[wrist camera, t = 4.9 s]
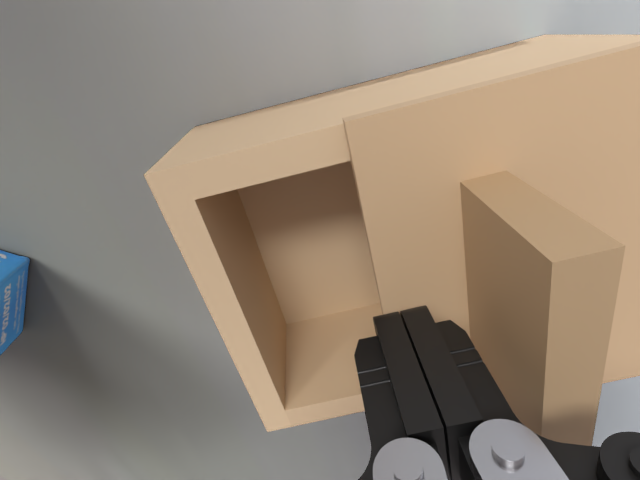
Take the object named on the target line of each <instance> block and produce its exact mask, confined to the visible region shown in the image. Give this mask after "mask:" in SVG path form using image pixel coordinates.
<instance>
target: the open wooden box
mask: <svg viewBox="0 0 640 480" xmlns="http://www.w3.org/2000/svg"><path fill="white" fill-rule="evenodd" d="M639 41H640V35H542V36H538V37H534V38H530V39H527V40H523V41H519V42H515V43H511V44H508V45H504V46H500V47H496V48H492V49H488V50H485V51H481V52H477V53H473V54H469V55H466V56H462V57H458V58H454V59H450V60H447V61H443V62H439V63H435V64H431V65H428V66H424V67H420V68H416V69H412V70H409V71H405V72H401V73H397V74H393V75H389V76H386V77H382V78H378V79H374V80H370V81H367V82H363V83H359V84H355V85H351V86H348V87H344V88H340V89H336V90H332V91H329V92H325V93H321V94H317V95H313V96H310V97H306V98H302V99H298V100H294V101H290V102H287V103H283V104H279V105H275V106H271V107H268V108H264V109H260V110H256V111H252V112H249V113H245V114H241V115H237V116H233V117H230V118H226V119H222V120H218V121H214V122H211V123H207V124H203V125H199V126H195V127H194V128H193V129H192V130H191V131H189V132H188V133H187V134H186V135H185V136H184V137H183V138H182V139H181V140H180V141H179V142H178V143H177V144H176V145H175V146H174V147H173V148H172V149H170V150H169V151H168V152H167V153H166V154H165V155H164V156H163V157H162V158H161V159H160V160H159V161H158V162H157V163H156V164H155V165H154V166H152V167H151V168H150V169H149V170H148V171H147V172H146V173H145V174H144V177H145V179H146V181H147V183H148V185H149V187H150V189H151V191H152V193H153V195H154V197H155V199H156V202H157V204H158V206H159V208H160V210H161V212H162V214H163V216H164V218H165V220H166V222H167V224H168V226H169V229H170V231H171V233H172V235H173V237H174V239H175V241H176V243H177V245H178V247H179V249H180V251H181V253H182V256H183V258H184V260H185V262H186V264H187V266H188V268H189V270H190V272H191V274H192V276H193V278H194V280H195V283H196V285H197V287H198V289H199V291H200V293H201V295H202V297H203V299H204V301H205V303H206V305H207V307H208V310H209V312H210V314H211V316H212V318H213V320H214V322H215V324H216V326H217V328H218V330H219V332H220V334H221V337H222V339H223V341H224V343H225V345H226V347H227V349H228V351H229V353H230V355H231V357H232V359H233V361H234V364H235V366H236V368H237V370H238V372H239V374H240V376H241V378H242V380H243V382H244V384H245V386H246V388H247V391H248V393H249V395H250V397H251V399H252V401H253V403H254V405H255V407H256V409H257V411H258V413H259V415H260V417H261V420H262V422H263V424H264V426H265V428H266V430H267V432H270V431H274V430H279V429H284V428H288V427H293V426H298V425H302V424H307V423H312V422H316V421H321V420H326V419H330V418H335V417H340V416H344V415H349V414H353V413H358V412H363V411H365V409H364V404H363V399H362V394H361V388H360V383H359V378H358V373H357V368H356V363H355V358H354V354H355V350H356V347H357V344H358V340H359V339H364V338H368V337H373V336H376V332H375V327H374V322H373V317H374V316H379V315H382V310H381V305H380V300H379V295H378V290H377V286H376V281H375V276H374V271H373V266H372V261H371V256H370V251H369V246H368V242H367V237H366V232H365V227H364V222H363V217H362V212H361V207H360V202H359V198H358V193H357V188H356V183H355V178H354V173H353V168H352V163H351V158H350V154H349V149H348V144H347V139H346V134H345V129H344V124H343V119H342V118H344V117H348V116H352V115H356V114H360V113H364V112H368V111H372V110H375V109H379V108H383V107H387V106H391V105H395V104H399V103H403V102H406V101H410V100H414V99H418V98H422V97H426V96H430V95H434V94H437V93H441V92H445V91H449V90H453V89H457V88H461V87H465V86H468V85H472V84H476V83H480V82H484V81H488V80H492V79H496V78H499V77H503V76H507V75H511V74H515V73H519V72H523V71H527V70H530V69H534V68H538V67H542V66H546V65H550V64H554V63H557V62H561V61H565V60H569V59H573V58H577V57H581V56H585V55H588V54H592V53H596V52H600V51H604V50H608V49H612V48H616V47H619V46H623V45H627V44H631V43H635V42H639Z"/></svg>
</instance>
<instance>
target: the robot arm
mask: <svg viewBox="0 0 640 480" xmlns="http://www.w3.org/2000/svg"><path fill="white" fill-rule="evenodd" d="M373 322H374V327H375V332H376V336H373V337H368V338H364V339H359V340H358V344H357V347H356V350H355V354H354V358H355V363H356V368H357V373H358V378H359V383H360V388H361V394H362V399H363V404H364V409H365V414H366V419H367V424H368V430H369V435H370V440H371V447H372V448H371V457H370V461H369V464H368V466H367V468H366V470H365V472H364V473H363V475H362V476H361V477H360V478H359V479H358V480H640V433H637V432H620V433H616V434H613V435H611V436H609V437H608V438H607V439H605V440H604V442H603V443H602V445H601V447H594V446H585V445H577V444H568V443H561V442H556V441H553V440H549V439H547V438H544V437H542V436H540V435H538V434H536V433H534V432H533V431H531V430H530V429H529V428H527V427H526V426H525V425H524V424H522V423H521V422H520V420H519V419H518V418H517V417H516V415H515V414H514V413H513V411H512V409H511V407H510V406H509V404H508V402H507V401H506V399H505V397H504V396H503V394H502V392H501V390H500V389H499V387H498V385H497V384H496V382H495V380H494V379H493V377H492V375H491V373H490V372H489V370H488V368H487V367H486V365H485V363H483V361H482V358H481V356H480V355H479V353H478V351H477V350H476V349H475V346H474V344H473V343H472V341H471V339H470V338H469V336H468V334H467V333H466V331H465V330H464V329H462V328H461V327H460V326H458V325H457V324H456V323H454V322H453V321H451V320H446V321H441V322H437V323H435V321H434V319H433V317H432V315H431V313H430V311H429V309H428V307H427V306H426V305H424V306H419V307H415V308H410V309H406V310H401V311H400V314H399V312H398V311H397V312H393V313H388V314H383V315H379V316H374V317H373Z"/></svg>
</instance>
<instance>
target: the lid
mask: <svg viewBox="0 0 640 480" xmlns="http://www.w3.org/2000/svg"><path fill="white" fill-rule="evenodd" d="M342 119H343V124H344V129H345V134H346V139H347V144H348V149H349V154H350V158H351V163H352V168H353V173H354V178H355V183H356V188H357V193H358V198H359V202H360V207H361V212H362V217H363V222H364V227H365V232H366V237H367V242H368V246H369V251H370V256H371V261H372V266H373V271H374V276H375V281H376V286H377V290H378V295H379V300H380V305H381V310H382V315H383V314H388V313H393V312H397V311H398V312H399V314H400V311H401V310H406V309H410V308H415V307H419V306H424V305H426V306H427V307H428V309H429V311H430V313H431V315H432V317H433V319H434V321H435V323H437V322H441V321H446V320H451V321H453V322H454V323H456V324H457V325H458V326H460V327H461V328H462V329H464V330H465V331H466V333H467V334H468V336H469V338H470V339H471V341H472V343H473V344H474V346H475V349H476V350H477V351H478V353H479V355H480V356H481V358H482V361H483V363H485V365H486V367H487V368H488V370H489V372H490V373H491V375H492V377H493V379H494V380H495V382H496V384H497V385H498V387H499V389H500V390H501V392H502V394H503V396H504V397H505V399H506V401H507V402H508V404H509V406H510V407H511V409H512V411H513V413H514V414H515V415H516V417H517V418H518V419H519V420H520V422H521V423H522V424H524V425H525V426H526V427H527V428H529V429H530V430H531V431H533V432H534V433H536V434H538V435H540V436H542V437H544V438H547V439H549V440H553V441H556V442H561V443H568V444H577V445H585V446H592V441H593V435H594V429H595V423H596V417H597V411H598V405H599V399H600V393H601V387H602V383H607V382H612V381H617V380H621V379H626V378H631V377H636V376H640V41H639V42H635V43H631V44H627V45H623V46H619V47H616V48H612V49H608V50H604V51H600V52H596V53H592V54H588V55H585V56H581V57H577V58H573V59H569V60H565V61H561V62H557V63H554V64H550V65H546V66H542V67H538V68H534V69H530V70H527V71H523V72H519V73H515V74H511V75H507V76H503V77H499V78H496V79H492V80H488V81H484V82H480V83H476V84H472V85H468V86H465V87H461V88H457V89H453V90H449V91H445V92H441V93H437V94H434V95H430V96H426V97H422V98H418V99H414V100H410V101H406V102H403V103H399V104H395V105H391V106H387V107H383V108H379V109H375V110H372V111H368V112H364V113H360V114H356V115H352V116H348V117H344V118H342Z"/></svg>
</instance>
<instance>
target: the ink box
mask: <svg viewBox="0 0 640 480" xmlns="http://www.w3.org/2000/svg"><path fill="white" fill-rule="evenodd" d="M29 262H30V259H29V258H28V257H25V256H18V255H15V254H12V253H8V252H5V251H2V250H0V355H1V354H2V353H3V352H4V351H5V350H6V349H7V348H8V347H9V345H10V344H11V343H12V342H13V341H14V340H15V339H16V338H17V337H18V336H19V335H20V334H21V332H22V331H23V322H24V312H25V300H26V289H27V277H28V266H29Z"/></svg>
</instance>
